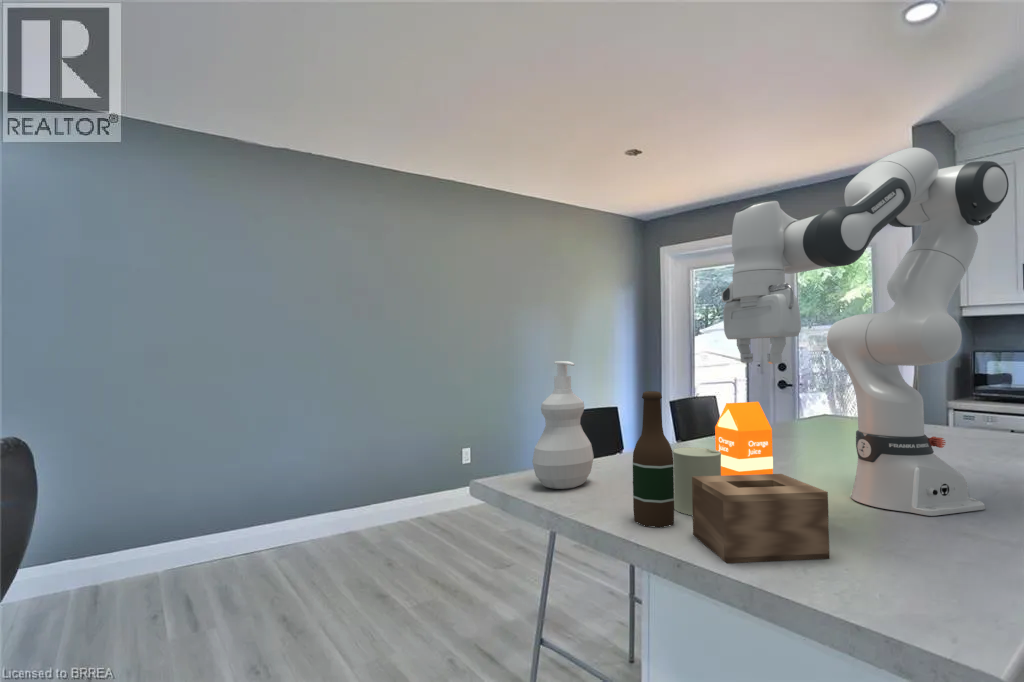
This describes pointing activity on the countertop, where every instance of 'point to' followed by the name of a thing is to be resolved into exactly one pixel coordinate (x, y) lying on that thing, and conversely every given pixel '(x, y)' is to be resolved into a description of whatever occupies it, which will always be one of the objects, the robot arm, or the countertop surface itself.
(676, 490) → the can
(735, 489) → the coin box
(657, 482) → the beer bottle
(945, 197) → the robot arm
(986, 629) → the countertop surface
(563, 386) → the soap bottle
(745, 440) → the orange juice
